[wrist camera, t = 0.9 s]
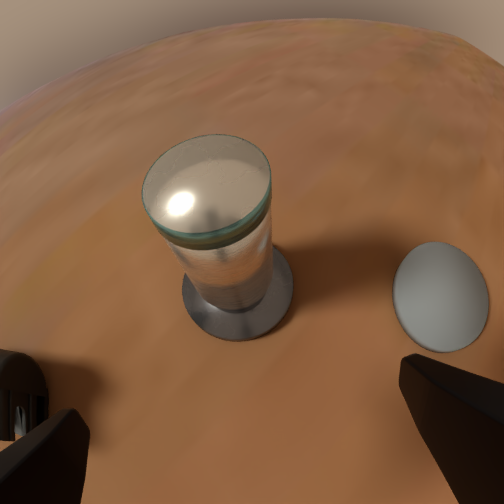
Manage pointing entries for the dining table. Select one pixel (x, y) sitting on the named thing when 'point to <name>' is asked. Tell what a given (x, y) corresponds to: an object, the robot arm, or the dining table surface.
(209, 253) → the drinking glass
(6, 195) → the dining table surface
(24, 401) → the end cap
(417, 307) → the coaster
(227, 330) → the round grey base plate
